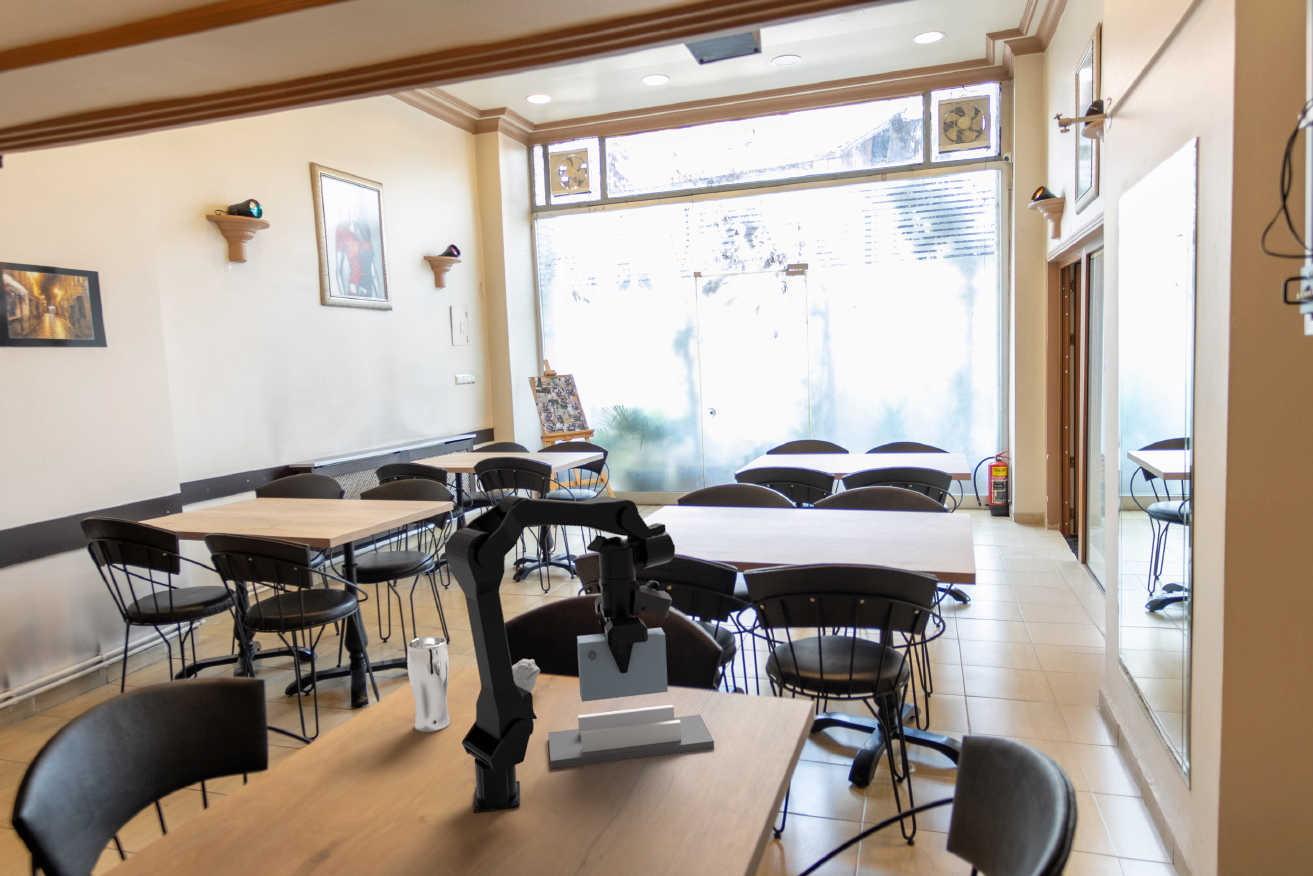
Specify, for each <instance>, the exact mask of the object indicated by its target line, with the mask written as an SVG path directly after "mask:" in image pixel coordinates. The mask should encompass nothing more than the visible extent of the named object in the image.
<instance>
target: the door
mask: <svg viewBox="0 0 1313 876" xmlns="http://www.w3.org/2000/svg"><path fill="white" fill-rule="evenodd" d="M647 629H648V641H646V642H639V643H634V644H633V648H632V652H631V657H630V662H629V667H628V672H627V673H620V670H619V668H618V666H617V664H616V662H615V659H614V657H613V655H612V653H611V650H610V648H609V646H608V644H607V642H606V639H605V637H604V634H605V633H597V634H596V633H593V634H587V635H586V634H585V635H577V636H576V639H577V640H576V641H577V644H576V645H577V659H578V663H577V664H578V679H579V695H580V699H581V702H582V703H584V702H591V701H601V700H610V699H619V698H628V697H637V696H644V695H650V694H651V695H652V694H660V693H668V692H669V690H668V669H667V668H668V666H667V665H668V664H667V644H666V633H665V632H664V630H663V628H662V627H654V628H647Z"/></svg>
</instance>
